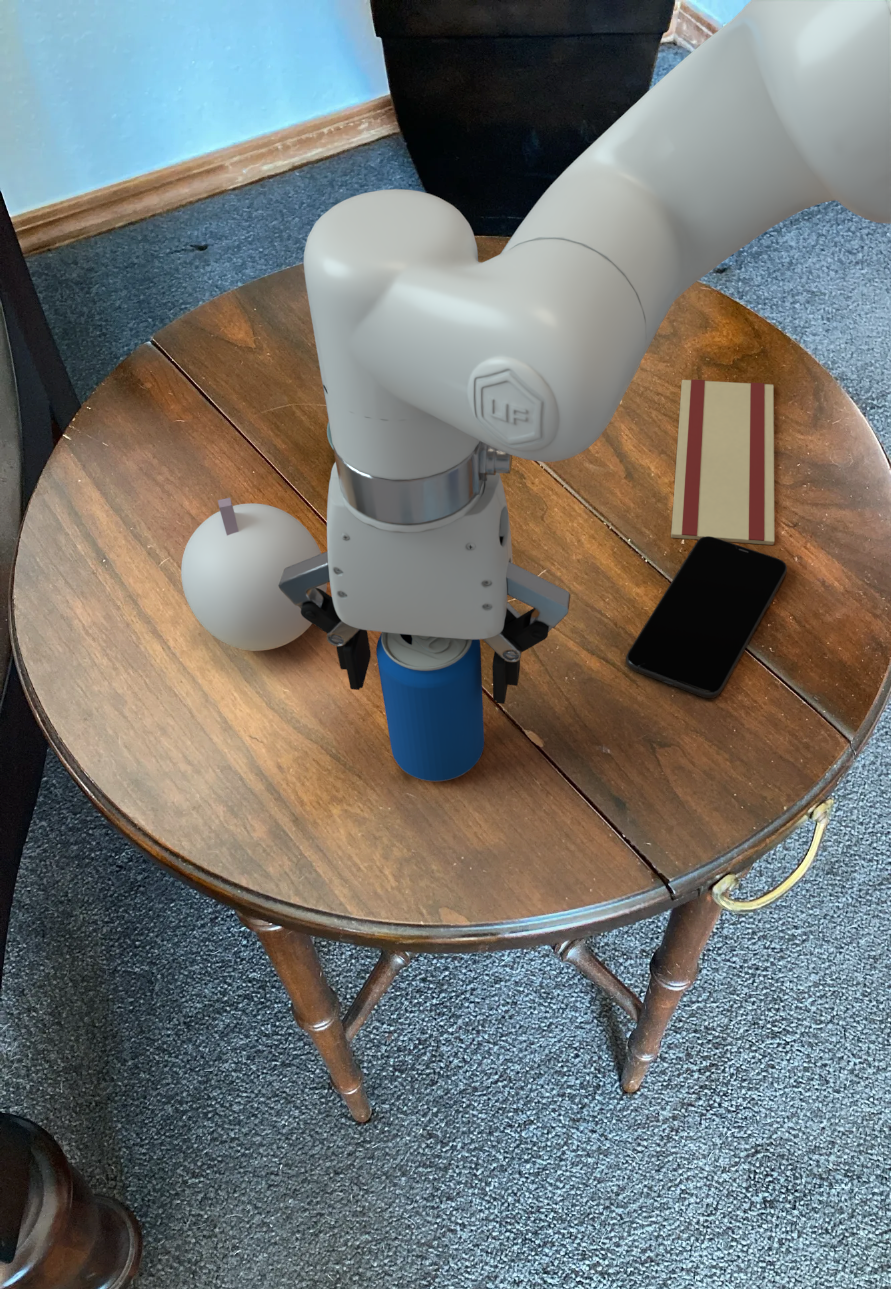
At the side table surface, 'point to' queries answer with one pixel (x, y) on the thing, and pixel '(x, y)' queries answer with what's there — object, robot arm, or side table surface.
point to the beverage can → (432, 703)
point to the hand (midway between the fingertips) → (431, 679)
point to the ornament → (246, 575)
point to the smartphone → (707, 616)
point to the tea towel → (725, 462)
